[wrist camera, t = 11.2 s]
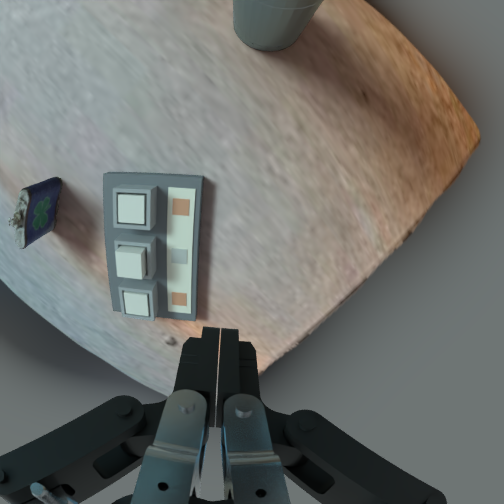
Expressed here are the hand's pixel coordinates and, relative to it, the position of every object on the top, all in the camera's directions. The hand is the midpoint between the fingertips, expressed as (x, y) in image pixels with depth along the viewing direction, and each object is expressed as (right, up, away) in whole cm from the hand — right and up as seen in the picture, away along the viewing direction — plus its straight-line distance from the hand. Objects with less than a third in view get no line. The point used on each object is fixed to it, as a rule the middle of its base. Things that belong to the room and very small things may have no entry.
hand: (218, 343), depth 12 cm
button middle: (-15, +3, +25) cm, 29 cm away
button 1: (-15, -3, +29) cm, 33 cm away
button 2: (-14, +10, +24) cm, 30 cm away
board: (-13, +5, +29) cm, 32 cm away
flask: (-30, +12, +25) cm, 41 cm away
